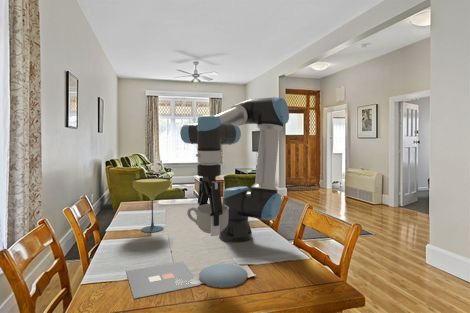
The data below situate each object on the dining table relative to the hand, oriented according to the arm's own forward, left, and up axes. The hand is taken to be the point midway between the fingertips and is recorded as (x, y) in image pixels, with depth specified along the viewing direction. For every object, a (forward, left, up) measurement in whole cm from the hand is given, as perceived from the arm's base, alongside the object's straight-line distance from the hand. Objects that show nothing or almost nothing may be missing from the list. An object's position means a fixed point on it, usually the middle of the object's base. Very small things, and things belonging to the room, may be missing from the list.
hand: (209, 230), depth 102 cm
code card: (-5, -15, -16) cm, 22 cm away
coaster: (+2, +4, -16) cm, 16 cm away
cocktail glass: (-60, -8, -16) cm, 63 cm away
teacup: (-1, 0, -1) cm, 1 cm away
